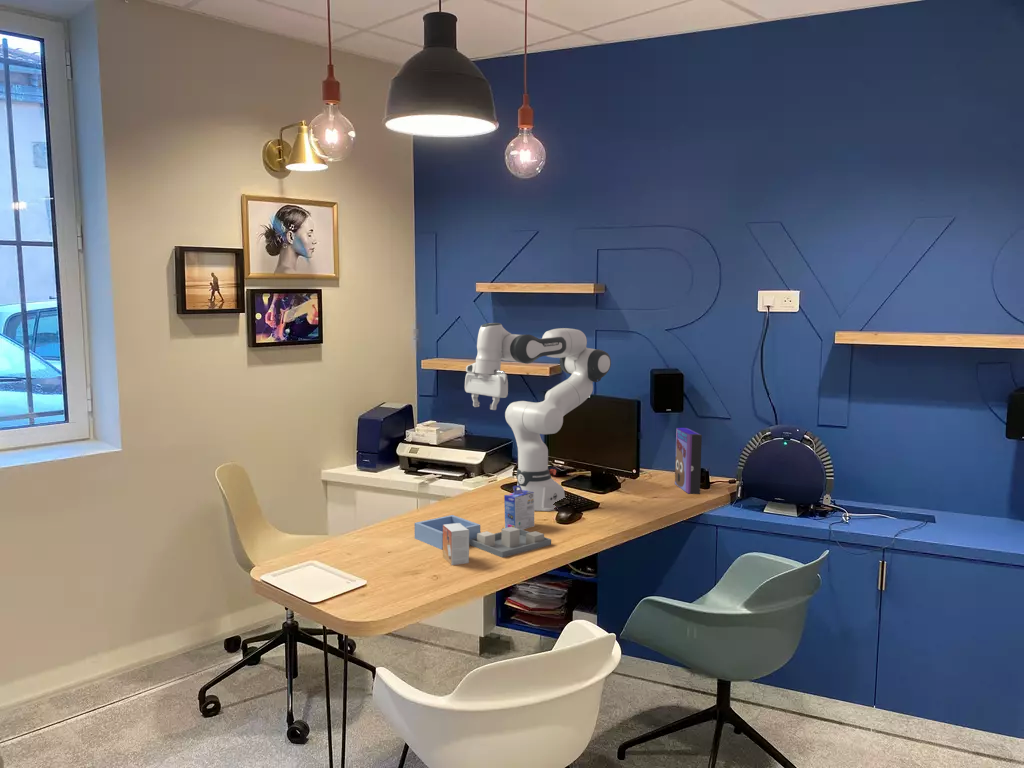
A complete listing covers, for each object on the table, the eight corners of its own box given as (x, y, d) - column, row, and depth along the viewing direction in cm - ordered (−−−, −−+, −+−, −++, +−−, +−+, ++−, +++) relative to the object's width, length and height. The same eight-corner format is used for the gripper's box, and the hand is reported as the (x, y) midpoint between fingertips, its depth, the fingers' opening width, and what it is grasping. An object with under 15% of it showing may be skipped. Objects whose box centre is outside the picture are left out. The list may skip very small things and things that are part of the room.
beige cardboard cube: (511, 542, 256) (511, 526, 255) (519, 545, 253) (519, 529, 252) (501, 544, 253) (501, 528, 253) (509, 547, 250) (509, 531, 250)
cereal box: (674, 484, 340) (676, 427, 337) (685, 483, 340) (687, 427, 338) (688, 494, 322) (690, 434, 320) (699, 493, 323) (701, 434, 320)
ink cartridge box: (523, 524, 278) (523, 482, 277) (535, 527, 274) (535, 485, 273) (503, 530, 271) (503, 487, 269) (515, 533, 267) (515, 490, 266)
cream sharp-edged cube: (486, 542, 256) (486, 531, 255) (494, 545, 253) (494, 534, 252) (476, 544, 253) (476, 533, 253) (484, 547, 250) (484, 536, 250)
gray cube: (535, 541, 256) (535, 531, 256) (544, 544, 253) (544, 534, 253) (525, 544, 254) (526, 533, 253) (534, 547, 250) (534, 536, 250)
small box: (442, 558, 241) (442, 524, 240) (460, 556, 243) (460, 522, 242) (451, 567, 233) (451, 531, 232) (469, 564, 236) (469, 529, 234)
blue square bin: (452, 531, 269) (452, 514, 268) (480, 541, 257) (480, 524, 257) (414, 539, 259) (414, 522, 258) (441, 551, 248) (441, 533, 247)
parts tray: (517, 534, 266) (517, 528, 265) (551, 546, 254) (551, 539, 253) (469, 546, 253) (469, 539, 252) (502, 559, 241) (502, 551, 240)
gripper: (513, 371, 276) (510, 411, 277) (476, 367, 292) (473, 405, 292) (499, 370, 272) (496, 411, 273) (463, 366, 288) (459, 405, 288)
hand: (484, 408), depth 283 cm, fingers open, 8 cm apart
